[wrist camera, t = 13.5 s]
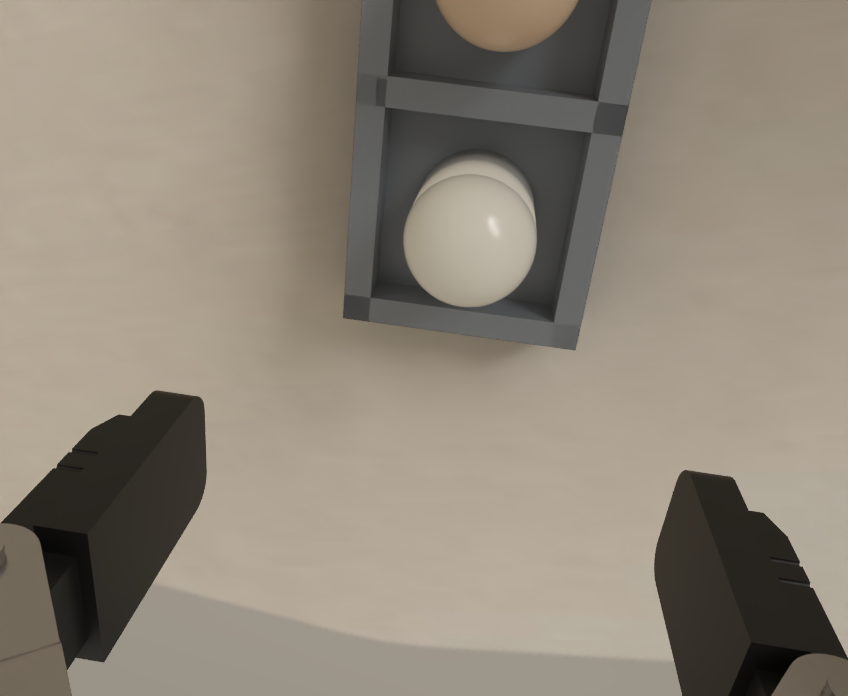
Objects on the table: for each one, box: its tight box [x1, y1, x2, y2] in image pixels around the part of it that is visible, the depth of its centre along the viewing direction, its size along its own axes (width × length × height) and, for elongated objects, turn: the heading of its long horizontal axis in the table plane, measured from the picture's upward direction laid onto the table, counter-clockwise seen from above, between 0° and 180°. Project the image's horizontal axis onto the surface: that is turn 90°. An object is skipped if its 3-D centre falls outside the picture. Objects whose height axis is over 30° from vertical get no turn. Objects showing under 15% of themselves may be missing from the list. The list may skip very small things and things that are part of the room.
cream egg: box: [403, 149, 537, 307], centre depth 25 cm, size 4×4×6 cm
